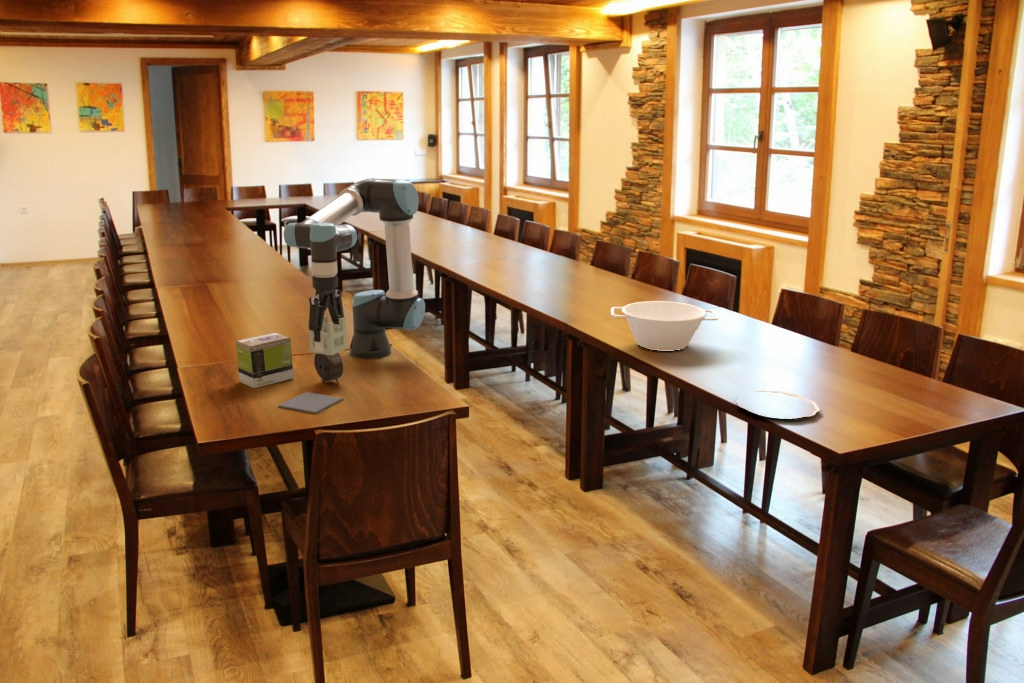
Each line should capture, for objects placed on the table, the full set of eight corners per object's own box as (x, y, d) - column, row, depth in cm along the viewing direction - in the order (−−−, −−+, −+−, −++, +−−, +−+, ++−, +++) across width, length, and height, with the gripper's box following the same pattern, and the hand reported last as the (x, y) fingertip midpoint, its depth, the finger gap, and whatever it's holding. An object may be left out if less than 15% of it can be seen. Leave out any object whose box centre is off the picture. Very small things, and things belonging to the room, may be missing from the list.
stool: (324, 345, 278) (323, 315, 276) (346, 348, 275) (345, 318, 273) (309, 352, 271) (308, 321, 269) (331, 355, 268) (330, 323, 266)
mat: (306, 393, 285) (306, 391, 285) (342, 399, 280) (342, 398, 280) (278, 407, 273) (278, 405, 273) (315, 413, 267) (315, 412, 267)
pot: (609, 355, 330) (611, 318, 326) (609, 333, 361) (610, 299, 357) (719, 359, 327) (722, 322, 323) (709, 336, 357) (712, 302, 353)
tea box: (278, 372, 306) (276, 331, 302) (294, 379, 299) (291, 337, 295) (238, 382, 296) (235, 339, 292) (253, 389, 289) (250, 345, 285)
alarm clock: (345, 385, 294) (343, 337, 290) (331, 388, 290) (329, 340, 286) (325, 377, 301) (323, 331, 297) (312, 381, 298) (309, 334, 293)
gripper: (333, 268, 278) (336, 338, 284) (293, 280, 259) (297, 355, 265) (354, 270, 275) (356, 341, 281) (314, 282, 256) (318, 358, 263)
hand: (327, 347), depth 273 cm, fingers closed on stool, 8 cm apart
